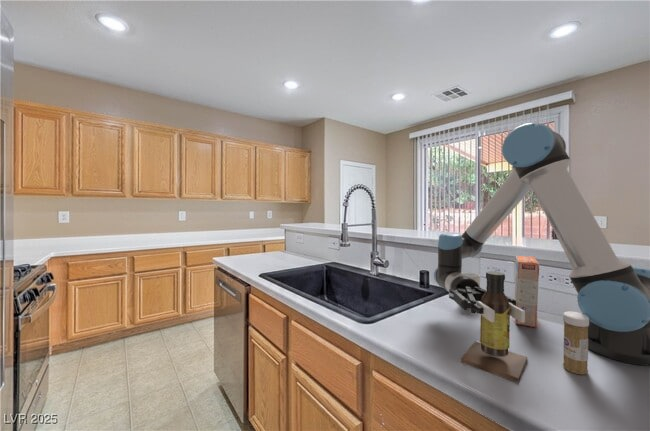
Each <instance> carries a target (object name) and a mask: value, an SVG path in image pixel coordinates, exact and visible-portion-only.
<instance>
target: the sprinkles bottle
mask: <svg viewBox="0 0 650 431" xmlns="http://www.w3.org/2000/svg"><path fill="white" fill-rule="evenodd" d="M562 321H563V323H564V324H563V326H564V327H563V363H562V366H563V368H564V369H565V370H566V371H568V372H571V373H573V374H577V375H587V374H588V373H589V370H588V361H589V360H588V359H589V349H588V326H589V317H588V316H586V315H584V314H583V313H582V312H578V311H568V310H567V311H565V312H563V314H562Z"/></svg>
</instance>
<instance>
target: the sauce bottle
mask: <svg viewBox="0 0 650 431" xmlns="http://www.w3.org/2000/svg"><path fill="white" fill-rule="evenodd" d="M485 278H486V286H485V290H486V292H485V293H484V295H483V296H482V298H481V302H482V303H484V304H485V305H487V306H488V307H490V308H491V309H493V310H494V311H495V318H494V322H490V321H489V320H487V319H486V318H485V317H483V316H482V315H481V314H480V326H479V327H480V333H479V336H480V341H479V343H481V349H482V351H483V352H485V353H486V354H489V355H492V356H498V357H504V356H507V355H508V352H510V351H509V349H510V344H511V343H510V340H511V339H510V331H511V329H510V327H511V318H510V317H511V316H510V305H509V301H508V299H507V297H506V296H507V295H506V294H505V280H506V275H505V273H504V272H499V271H486V272H485ZM505 295H506V296H505Z"/></svg>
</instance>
